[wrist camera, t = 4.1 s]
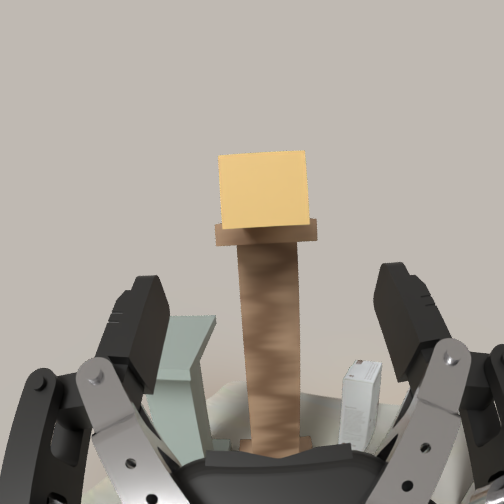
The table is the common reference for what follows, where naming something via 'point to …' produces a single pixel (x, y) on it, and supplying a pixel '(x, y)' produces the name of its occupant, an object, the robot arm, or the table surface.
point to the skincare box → (360, 404)
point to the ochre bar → (263, 189)
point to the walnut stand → (271, 333)
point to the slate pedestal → (184, 390)
